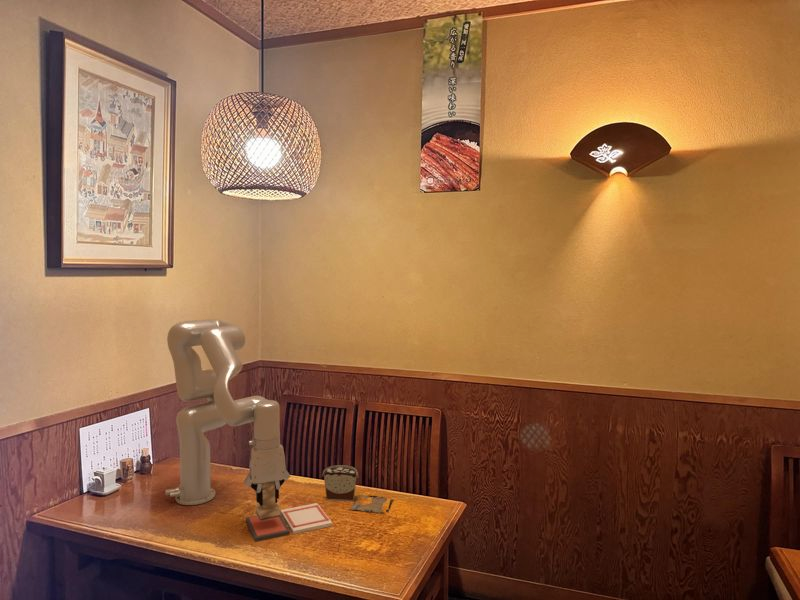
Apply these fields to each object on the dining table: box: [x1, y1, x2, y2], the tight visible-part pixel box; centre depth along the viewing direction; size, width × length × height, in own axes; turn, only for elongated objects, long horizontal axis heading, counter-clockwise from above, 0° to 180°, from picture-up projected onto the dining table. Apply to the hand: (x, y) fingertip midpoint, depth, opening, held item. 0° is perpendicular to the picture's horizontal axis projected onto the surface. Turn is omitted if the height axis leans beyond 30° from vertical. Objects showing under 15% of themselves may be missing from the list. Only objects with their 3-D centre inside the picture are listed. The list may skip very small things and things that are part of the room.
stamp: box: [255, 482, 281, 521], centre depth 161 cm, size 6×6×11 cm
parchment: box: [350, 494, 393, 515], centre depth 179 cm, size 12×13×1 cm
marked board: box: [280, 502, 333, 535], centre depth 167 cm, size 12×15×1 cm
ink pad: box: [245, 515, 291, 543], centre depth 162 cm, size 10×14×1 cm
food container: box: [321, 464, 359, 502], centre depth 184 cm, size 12×6×10 cm, turn 84°
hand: (267, 501), depth 161 cm, fingers closed on stamp, 3 cm apart
